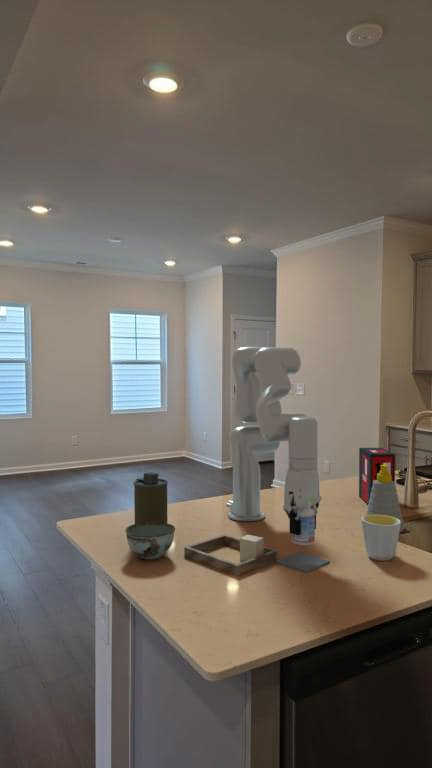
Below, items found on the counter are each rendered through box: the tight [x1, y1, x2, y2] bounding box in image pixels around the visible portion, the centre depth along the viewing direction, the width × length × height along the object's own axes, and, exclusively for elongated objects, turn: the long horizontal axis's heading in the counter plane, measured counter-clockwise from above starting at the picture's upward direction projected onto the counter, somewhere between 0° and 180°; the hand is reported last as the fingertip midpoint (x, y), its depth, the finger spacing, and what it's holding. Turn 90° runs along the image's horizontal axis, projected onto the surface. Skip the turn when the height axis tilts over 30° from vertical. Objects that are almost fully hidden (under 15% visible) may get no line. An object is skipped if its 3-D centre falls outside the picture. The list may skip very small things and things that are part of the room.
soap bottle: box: [366, 463, 405, 533], centre depth 172 cm, size 12×12×20 cm
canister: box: [132, 471, 169, 524], centre depth 162 cm, size 11×10×20 cm
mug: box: [361, 514, 401, 562], centre depth 147 cm, size 14×10×10 cm
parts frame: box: [183, 534, 279, 577], centre depth 145 cm, size 20×16×2 cm
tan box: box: [239, 534, 265, 562], centre depth 143 cm, size 5×4×6 cm
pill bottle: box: [290, 502, 316, 546], centre depth 141 cm, size 6×6×11 cm
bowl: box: [124, 522, 176, 562], centre depth 146 cm, size 14×13×8 cm
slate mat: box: [275, 551, 330, 574], centre depth 141 cm, size 10×10×1 cm
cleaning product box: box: [358, 447, 396, 506], centre depth 204 cm, size 16×9×20 cm, turn 179°
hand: (302, 530), depth 141 cm, fingers closed on pill bottle, 6 cm apart
